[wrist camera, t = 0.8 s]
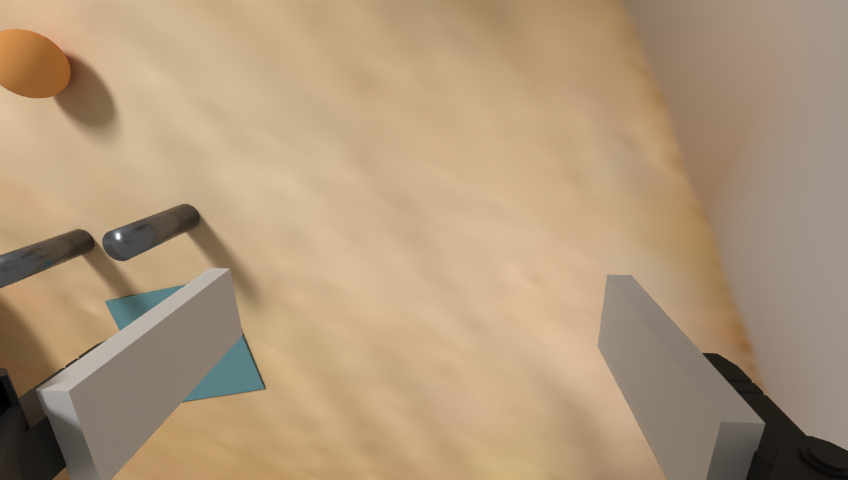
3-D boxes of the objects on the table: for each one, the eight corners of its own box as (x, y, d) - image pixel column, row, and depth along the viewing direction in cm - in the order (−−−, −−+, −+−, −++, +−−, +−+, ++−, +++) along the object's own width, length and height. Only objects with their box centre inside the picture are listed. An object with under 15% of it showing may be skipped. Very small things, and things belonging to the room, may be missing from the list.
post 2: (170, 206, 42) (97, 234, 34) (193, 201, 42) (124, 227, 34) (180, 231, 43) (111, 263, 35) (203, 226, 43) (138, 257, 34)
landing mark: (106, 300, 47) (105, 301, 47) (219, 277, 45) (218, 278, 44) (159, 404, 51) (158, 405, 51) (265, 387, 49) (264, 388, 48)
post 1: (66, 232, 44) (-29, 263, 36) (86, 227, 44) (-4, 257, 36) (77, 254, 45) (-12, 291, 37) (98, 250, 45) (12, 285, 36)
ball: (18, 43, 39) (-51, 34, 33) (68, 26, 38) (5, 15, 33) (48, 104, 40) (-14, 105, 35) (97, 90, 39) (41, 88, 34)
